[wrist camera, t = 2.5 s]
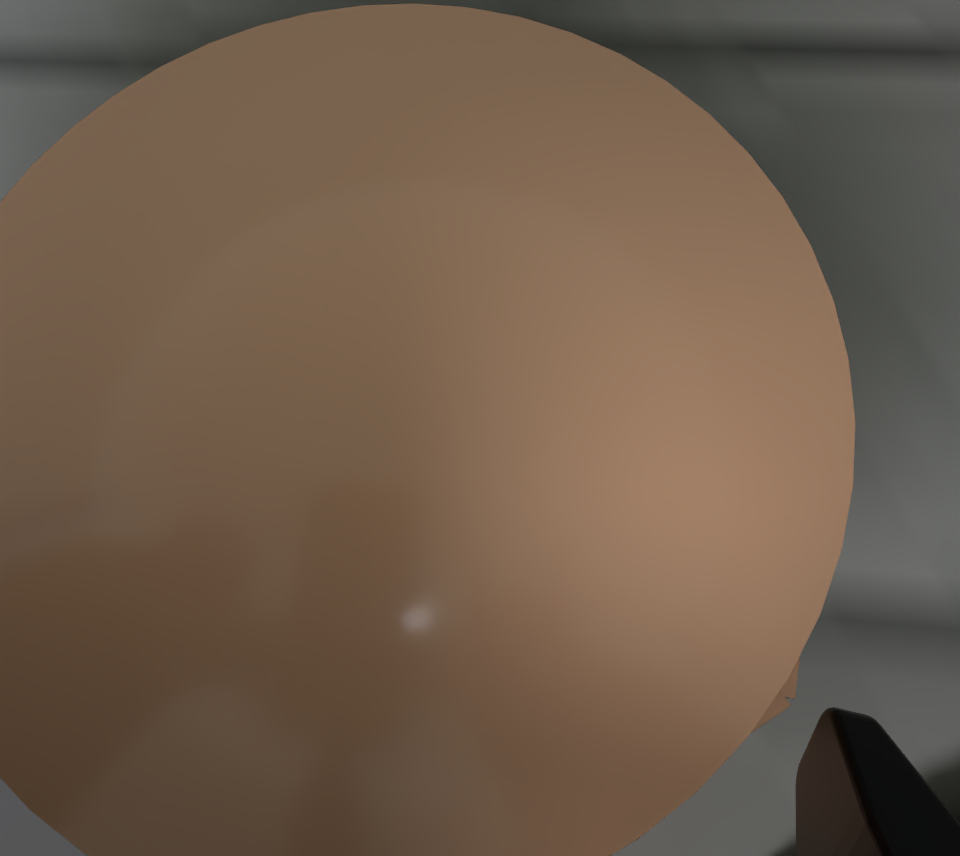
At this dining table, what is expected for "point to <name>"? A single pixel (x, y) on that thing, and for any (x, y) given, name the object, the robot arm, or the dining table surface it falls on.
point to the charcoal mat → (28, 831)
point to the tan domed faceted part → (404, 448)
